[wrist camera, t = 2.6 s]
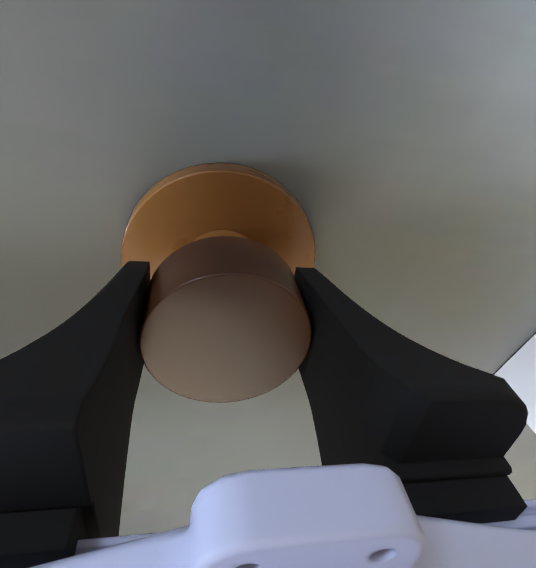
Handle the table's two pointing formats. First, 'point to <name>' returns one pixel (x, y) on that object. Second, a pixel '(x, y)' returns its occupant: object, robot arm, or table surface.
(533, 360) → the framed art
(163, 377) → the brown short cylinder
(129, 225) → the wooden peg base
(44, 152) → the table surface
